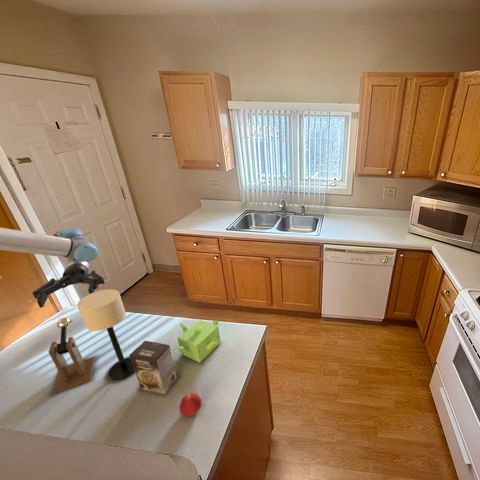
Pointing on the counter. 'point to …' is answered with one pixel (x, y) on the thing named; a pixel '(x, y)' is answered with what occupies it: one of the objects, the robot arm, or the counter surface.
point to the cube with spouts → (198, 340)
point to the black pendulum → (63, 335)
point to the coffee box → (154, 366)
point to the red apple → (190, 404)
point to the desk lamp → (107, 324)
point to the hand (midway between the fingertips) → (66, 298)
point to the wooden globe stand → (71, 367)
